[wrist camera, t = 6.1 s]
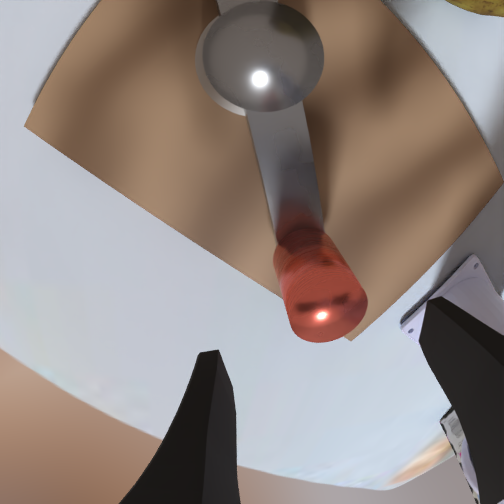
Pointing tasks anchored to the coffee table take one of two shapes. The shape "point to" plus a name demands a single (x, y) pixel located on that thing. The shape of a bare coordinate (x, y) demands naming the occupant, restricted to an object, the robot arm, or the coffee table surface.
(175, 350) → the coffee table surface
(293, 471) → the coffee table surface
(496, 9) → the potato
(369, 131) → the board
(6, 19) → the coffee table surface
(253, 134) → the lever
